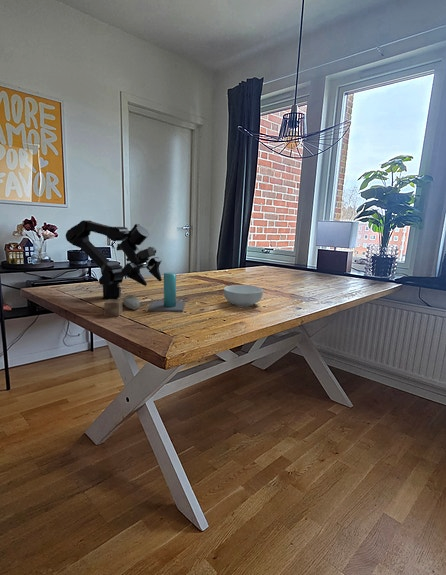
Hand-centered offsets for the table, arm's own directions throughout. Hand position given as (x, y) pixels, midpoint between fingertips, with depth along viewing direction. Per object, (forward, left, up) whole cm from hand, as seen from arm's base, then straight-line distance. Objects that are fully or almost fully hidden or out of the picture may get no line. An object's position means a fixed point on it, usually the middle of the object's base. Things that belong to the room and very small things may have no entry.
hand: (153, 283), depth 133 cm
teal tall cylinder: (+7, -4, -8) cm, 12 cm away
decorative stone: (-9, -2, -10) cm, 13 cm away
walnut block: (-12, -15, -9) cm, 21 cm away
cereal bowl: (+37, +5, -9) cm, 39 cm away
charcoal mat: (+6, -3, -9) cm, 11 cm away
